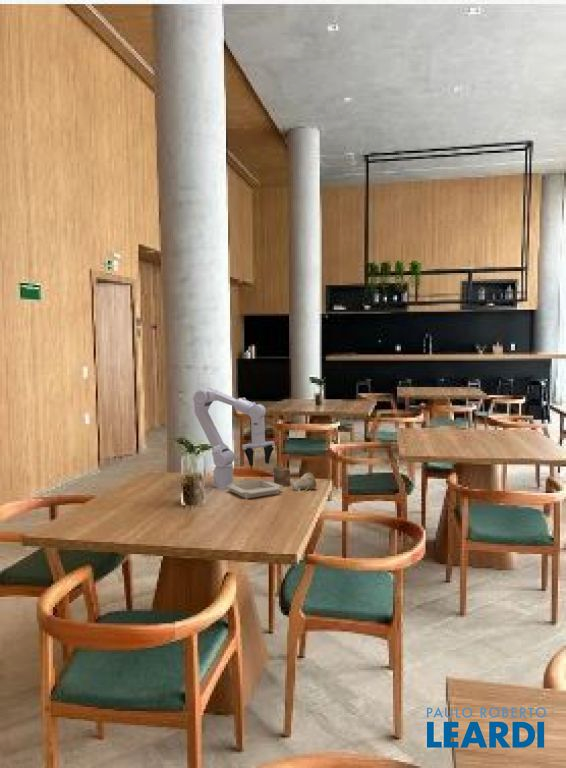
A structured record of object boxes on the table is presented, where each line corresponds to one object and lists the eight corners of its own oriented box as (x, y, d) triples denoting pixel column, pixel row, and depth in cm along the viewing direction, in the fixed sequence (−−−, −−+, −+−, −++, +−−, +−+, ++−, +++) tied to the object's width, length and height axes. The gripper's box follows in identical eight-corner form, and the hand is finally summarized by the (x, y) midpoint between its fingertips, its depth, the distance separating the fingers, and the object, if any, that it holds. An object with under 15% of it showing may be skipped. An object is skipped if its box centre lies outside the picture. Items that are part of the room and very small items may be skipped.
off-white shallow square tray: (223, 491, 256) (223, 484, 256) (263, 485, 265) (263, 478, 265) (244, 501, 237) (244, 494, 237) (286, 494, 247) (286, 487, 246)
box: (281, 487, 259) (281, 470, 258) (274, 483, 266) (273, 467, 265) (290, 485, 260) (290, 469, 260) (282, 482, 268) (282, 466, 267)
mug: (288, 490, 255) (295, 468, 258) (308, 498, 257) (315, 476, 260) (293, 489, 248) (301, 467, 251) (314, 498, 250) (322, 475, 253)
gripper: (246, 435, 251) (247, 468, 251) (277, 432, 258) (278, 463, 258) (239, 433, 257) (240, 465, 258) (269, 430, 264) (270, 461, 265)
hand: (259, 464), depth 258 cm, fingers open, 7 cm apart
